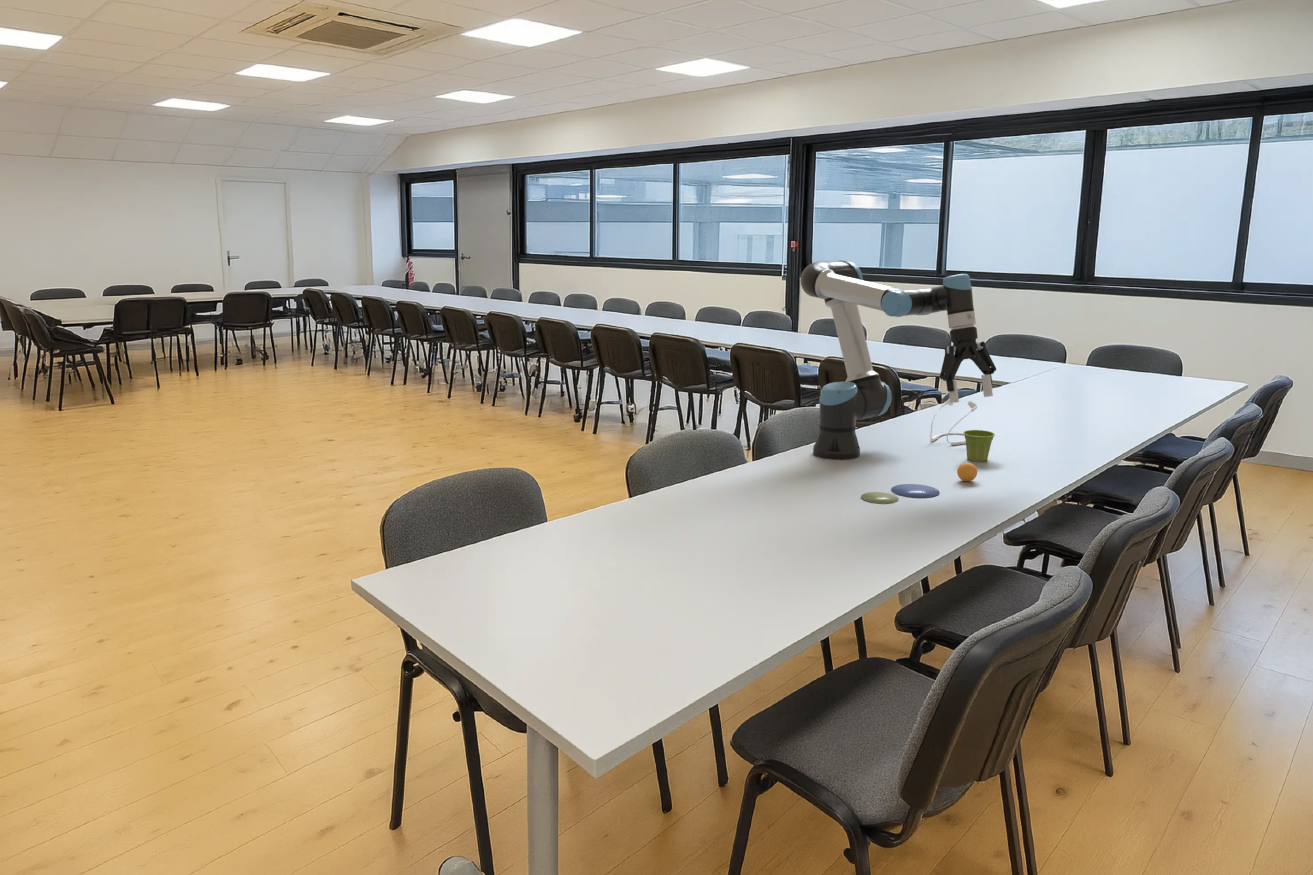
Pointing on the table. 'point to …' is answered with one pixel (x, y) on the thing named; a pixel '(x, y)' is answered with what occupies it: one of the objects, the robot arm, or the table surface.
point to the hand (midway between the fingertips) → (971, 399)
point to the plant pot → (978, 444)
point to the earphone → (972, 406)
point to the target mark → (915, 490)
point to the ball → (967, 472)
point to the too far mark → (879, 497)
